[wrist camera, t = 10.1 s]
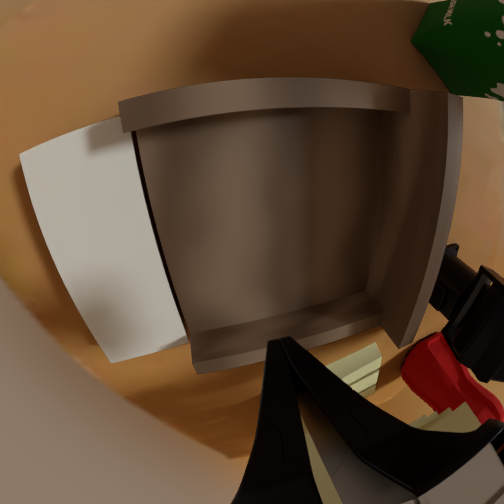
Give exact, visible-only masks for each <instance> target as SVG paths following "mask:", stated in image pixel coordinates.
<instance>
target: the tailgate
mask: <svg viewBox="0 0 504 504" xmlns="http://www.w3.org/2000/svg"><path fill="white" fill-rule="evenodd" d="M19 155H20V160H21V164H22V168H23V172H24V176H25V180H26V184H27V188H28V191H29V195H30V198H31V201H32V205H33V208H34V211H35V214H36V217H37V220H38V223H39V225H40V228H41V231H42V233H43V236H44V239H45V241H46V244H47V246H48V249H49V251H50V253H51V256H52V258H53V260H54V263H55V265H56V267H57V269H58V272H59V274H60V276H61V278H62V280H63V282H64V284H65V286H66V288H67V290H68V292H69V294H70V296H71V298H72V300H73V302H74V304H75V305H76V307H77V309H78V311H79V313H80V314H81V316H82V318H83V320H84V321H85V323H86V325H87V326H88V328H89V330H90V331H91V333H92V335H93V336H94V338H95V340H96V341H97V343H98V344H99V346H100V347H101V349H102V350H103V352H104V353H105V355H106V356H107V358H108V359H109V361H110V362H111V363H115V362H119V361H123V360H127V359H131V358H135V357H139V356H143V355H147V354H150V353H154V352H158V351H161V350H165V349H168V348H172V347H175V346H179V345H182V344H186V343H189V340H188V336H187V333H186V330H185V327H184V324H183V322H182V319H181V316H180V313H179V310H178V307H177V305H176V302H175V299H174V296H173V293H172V290H171V287H170V284H169V280H168V277H167V274H166V271H165V268H164V264H163V261H162V258H161V254H160V251H159V247H158V244H157V240H156V237H155V233H154V229H153V226H152V222H151V218H150V214H149V210H148V206H147V202H146V198H145V194H144V189H143V185H142V180H141V176H140V171H139V166H138V162H137V156H136V151H135V146H134V141H133V135H132V131H131V132H127V133H123V130H122V124H121V118H120V116H118V117H115V118H111V119H108V120H105V121H101V122H98V123H95V124H92V125H89V126H86V127H83V128H80V129H78V130H75V131H72V132H69V133H67V134H64V135H62V136H59V137H57V138H54V139H52V140H49V141H47V142H45V143H42V144H40V145H38V146H36V147H33V148H31V149H29V150H27V151H25V152H23V153H21V154H19Z"/></svg>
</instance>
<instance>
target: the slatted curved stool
mask: <svg viewBox="0 0 504 504" xmlns="http://www.w3.org/2000/svg"><path fill="white" fill-rule="evenodd" d="M381 359H382V355H381V353H380V351H379V349H378V347H377V344H376V342H375V343H373V344H371V345H369V346H367V347H365V348H363V349H361V350H359V351H357V352H355V353H353V354H351V355H348V356H346V357H344V358H342V359H340V360H337V361H335V362H333V363H331V364H328V365H326V367H327V368H328V369H329V370H331V371H332V372H333V373H334V374H335V375H337V376H338V377H339V378H340V379H342V380H343V381H344V382H345V383H346V384H348V385H349V386H350V387H351V388H352V390H355V391H356V392H358V393H359V394H360V395H361V396H363V397H364V398H365V397H367V396H369V395H371V394H373V393H374V392H375V388H376V384H375V383H377V379H378V374H379V369H378V368H379V367H380V364H381ZM300 415H301V414H300ZM301 419H302V424H303V429H304V434H305V438H306V443H307V448H308V453H309V458H310V464H311V467H312V472H313V476H314V479H315V482H316V485H317V488H318V491H319V494H320V497H321V499H322V502H323V504H343V503H342V501H341V499H340V497H339V495H338V493H337V491H336V489H335V487H334V485H333V483H332V481H331V479H330V478H331V477H330V476H329V474H328V472H327V470H326V468H325V466H324V464H323V462H322V459H321V457H320V455H319V453H318V451H317V449H316V447H315V444H314V442H313V440H312V438H311V436H310V434H309V431H308V429H307V427H306V425H305V423H304V421H303V418H302V416H301ZM408 425H410V426H412V427H415V428H418V429H423V430H432V431H444V432H460V433H463V432H471V431H474V430H476V429H477V428H478V427H479V426H480V425H481V423H480V422H479V420H478V419H477V417H476V416H475V414H474V413H473V411H472V410H471V409H470V407H469V406H468V404H467V403H466V401H465V402H464V403H463V404H462V405H460V406H459V407H458V408H456V409H455V410H454V411H452V410H451V408H450V407H449V408H447V409H446V410H445V411H443V412H442V413H440V414H439V415H438V413H437V412H434V413H433V414H431V415H430V416H428V417H426V415H423V416H422V417H420V418H418V419H417V420H415V421H414V422H412V423H410V424H408Z"/></svg>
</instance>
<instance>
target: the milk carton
mask: <svg viewBox="0 0 504 504" xmlns="http://www.w3.org/2000/svg"><path fill="white" fill-rule="evenodd" d="M411 42H412V43H413V44H414V45H415V47H416V48H417V49H418V50H419V51H420V52H421V54H422V55H423V56H424V57H425V58H426V60H427V61H428V62H429V63H430V65H431V66H432V67H433V68H434V70H435V71H436V72H437V74H438V75H439V76H440V78H441V79H442V80H443V82H444V83H445V85H446V86H447V87H448V89H449V90H450V92H451V93H452V94H454V95H460V96H472V97H482V98H490V99H495V100H500V101H504V0H446V1H440V2H434V3H430V5H429V7H428V9H427V11H426V13H425V15H424V17H423V19H422V21H421V23H420V24H419V26H418V28H417V30H416V32H415V34H414V36H413V38H412V40H411Z"/></svg>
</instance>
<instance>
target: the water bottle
mask: <svg viewBox="0 0 504 504" xmlns="http://www.w3.org/2000/svg"><path fill="white" fill-rule="evenodd" d="M401 376H402V379H403V380H404V381H405V383H406V384H407V385H408V386H409V387H410V389H411V390H412V391H413V392H414V393H415V394H416V395H417V396H419V397H420V398H421V399H422V400H423V401H424V402H426V403H427V404H428V405H429V406H430V407H431V408H433V410H434V412H437V413H438V415H439V414H440V413H442V412H443V411H445V410H446V409H447V408H449V407H450V408H451V410H452V411H454V410H455V409H456V408H458V407H459V406H460V405H462V404H463V403H464V402H465V401H466V403H467V404H468V406H469V407H470V409H471V410H472V411H473V413H474V414H475V416H476V417H477V419H478V420H479V422H480V423H481V425H482V424H483V423H484V422H485V421H486V420H488V419H496V420H499V421H502V422H504V409H503V406H502V404H501V403H500V401H499V400H498V399H497V397H496V396H495V395H494V394H492V393H491V392H490V391H488V390H487V389H486V388H484V387H483V386H481V385H480V384H479V383H477V382H476V381H475V380H474V379H473V377H471V375H470V373H469V371H468V369H467V367H465V366H464V365H463V364H460V363H459V362H458V361H457V359H456V358H455V356H454V354H453V352H452V351H451V349H450V347H449V346H448V344H447V342H446V340H445V339H444V336H443V335H442V333H441V332H438V333H436V334H434V335H432V336H431V337H429V338H427V339H425V340H423V341H421V342H419V343H417V344H416V345H415V346H414V347H413V348H412V349H411V351H410V352H409V354H408V356H407V358H406V360H405V362H404V364H403V366H402V368H401ZM481 425H480V426H481ZM480 426H479V427H480ZM479 427H478V428H479Z"/></svg>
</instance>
